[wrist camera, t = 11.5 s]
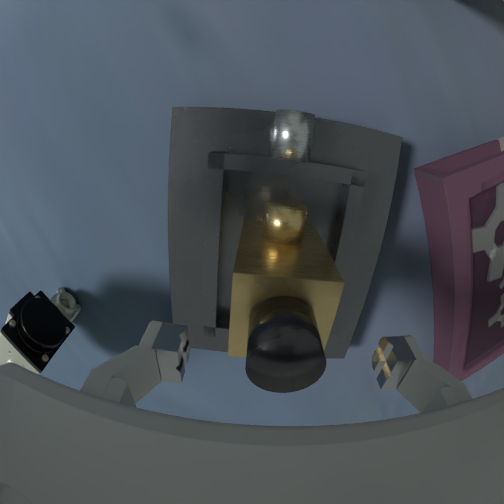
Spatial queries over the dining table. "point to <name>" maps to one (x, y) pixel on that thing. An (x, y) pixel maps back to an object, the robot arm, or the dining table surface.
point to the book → (466, 255)
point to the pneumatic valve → (37, 329)
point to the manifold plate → (265, 189)
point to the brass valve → (283, 299)
